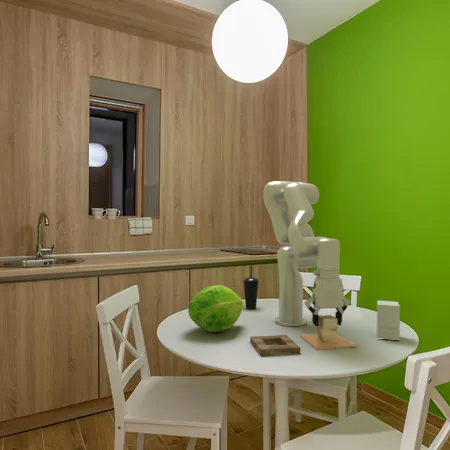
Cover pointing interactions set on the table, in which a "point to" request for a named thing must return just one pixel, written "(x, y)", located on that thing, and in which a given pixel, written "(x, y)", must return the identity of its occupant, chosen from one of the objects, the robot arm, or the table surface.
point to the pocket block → (284, 349)
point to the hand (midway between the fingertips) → (327, 324)
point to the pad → (331, 345)
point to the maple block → (327, 329)
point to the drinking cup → (250, 291)
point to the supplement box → (388, 320)
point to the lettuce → (215, 308)
